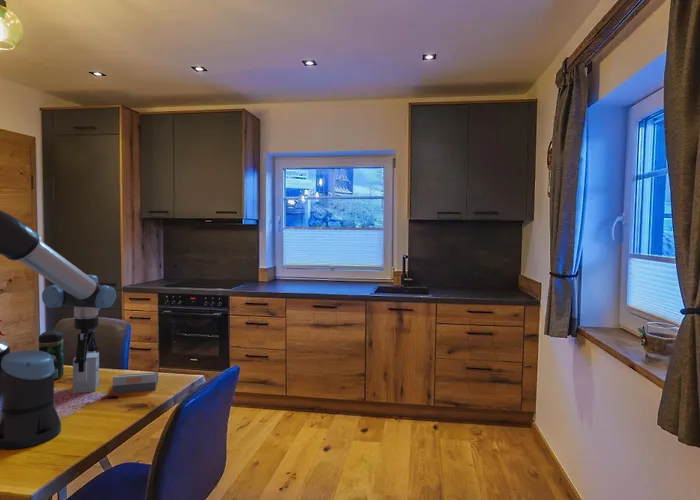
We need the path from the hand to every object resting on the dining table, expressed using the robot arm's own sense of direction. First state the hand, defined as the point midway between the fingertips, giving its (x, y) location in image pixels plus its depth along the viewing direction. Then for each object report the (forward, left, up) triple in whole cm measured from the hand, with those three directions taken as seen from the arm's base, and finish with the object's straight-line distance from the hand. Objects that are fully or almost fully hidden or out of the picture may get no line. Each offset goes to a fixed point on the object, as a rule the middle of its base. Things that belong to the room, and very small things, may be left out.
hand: (86, 374), depth 156 cm
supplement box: (0, 0, -6) cm, 6 cm away
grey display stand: (-2, -17, -6) cm, 18 cm away
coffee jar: (+18, +16, -6) cm, 25 cm away
